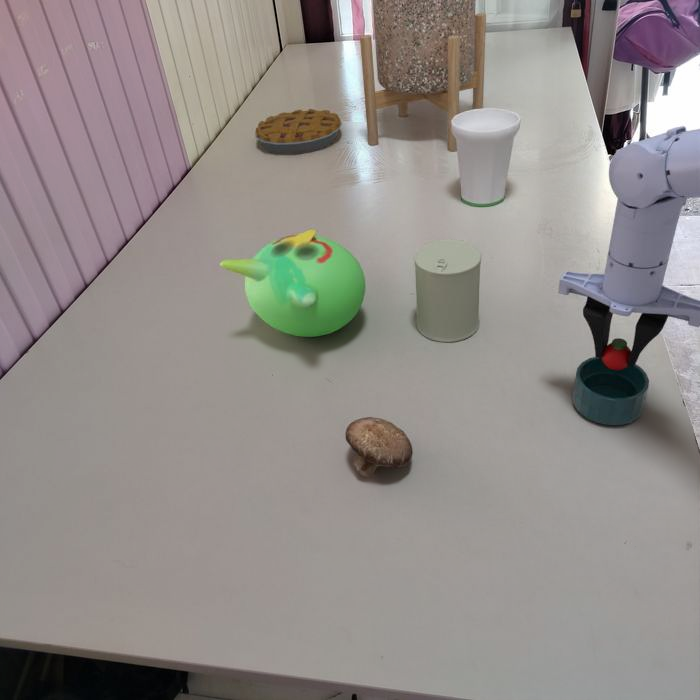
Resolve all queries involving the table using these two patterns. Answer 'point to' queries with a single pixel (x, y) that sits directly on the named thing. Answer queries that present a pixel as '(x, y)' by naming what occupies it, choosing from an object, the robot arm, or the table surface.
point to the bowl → (609, 392)
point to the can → (447, 290)
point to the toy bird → (302, 284)
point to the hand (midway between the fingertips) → (616, 357)
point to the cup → (484, 153)
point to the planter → (423, 57)
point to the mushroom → (377, 445)
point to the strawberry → (616, 354)
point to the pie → (298, 131)
